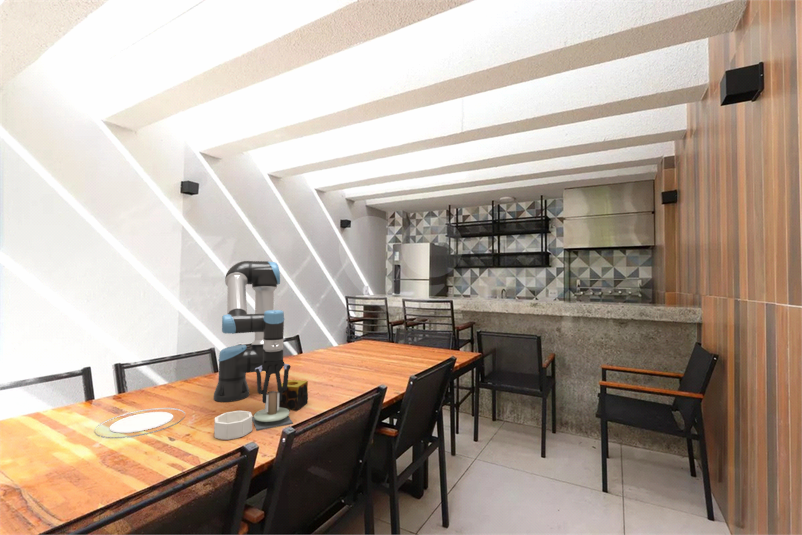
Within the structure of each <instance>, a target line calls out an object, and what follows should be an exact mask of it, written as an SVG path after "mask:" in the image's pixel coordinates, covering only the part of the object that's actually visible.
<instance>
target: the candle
mask: <svg viewBox="0 0 802 535" xmlns="http://www.w3.org/2000/svg"><path fill="white" fill-rule="evenodd" d="M308 384H309V381H308V380H297V379H288V385H287V390H285V391H283V393H282V400H281V401H279V407H282V408H286V409H288V410H289V411H299V410H300V409H301V408H303V407H305V406H306V405H307V404H308V399H309V396H308V395H309V393H308V390H309V389H308ZM281 385H282V387H283V382H281ZM276 390H277V391H278V387H277V386H276Z"/></svg>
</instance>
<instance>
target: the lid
mask: <svg viewBox="0 0 802 535" xmlns="http://www.w3.org/2000/svg"><path fill="white" fill-rule="evenodd" d="M277 392H278V391H275V390H272V391H267V393H268V395H269V399H268V412H266V411H265V408H263V409H260V410H257V411H256V412H255V413H254V415H253V417H254V419H255V420H257V421H260V422H272V421H278V420H281V419H284V418H286V417H287V416H289V415H290V410H288V409H286V408H282V407H279V410H277Z"/></svg>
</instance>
